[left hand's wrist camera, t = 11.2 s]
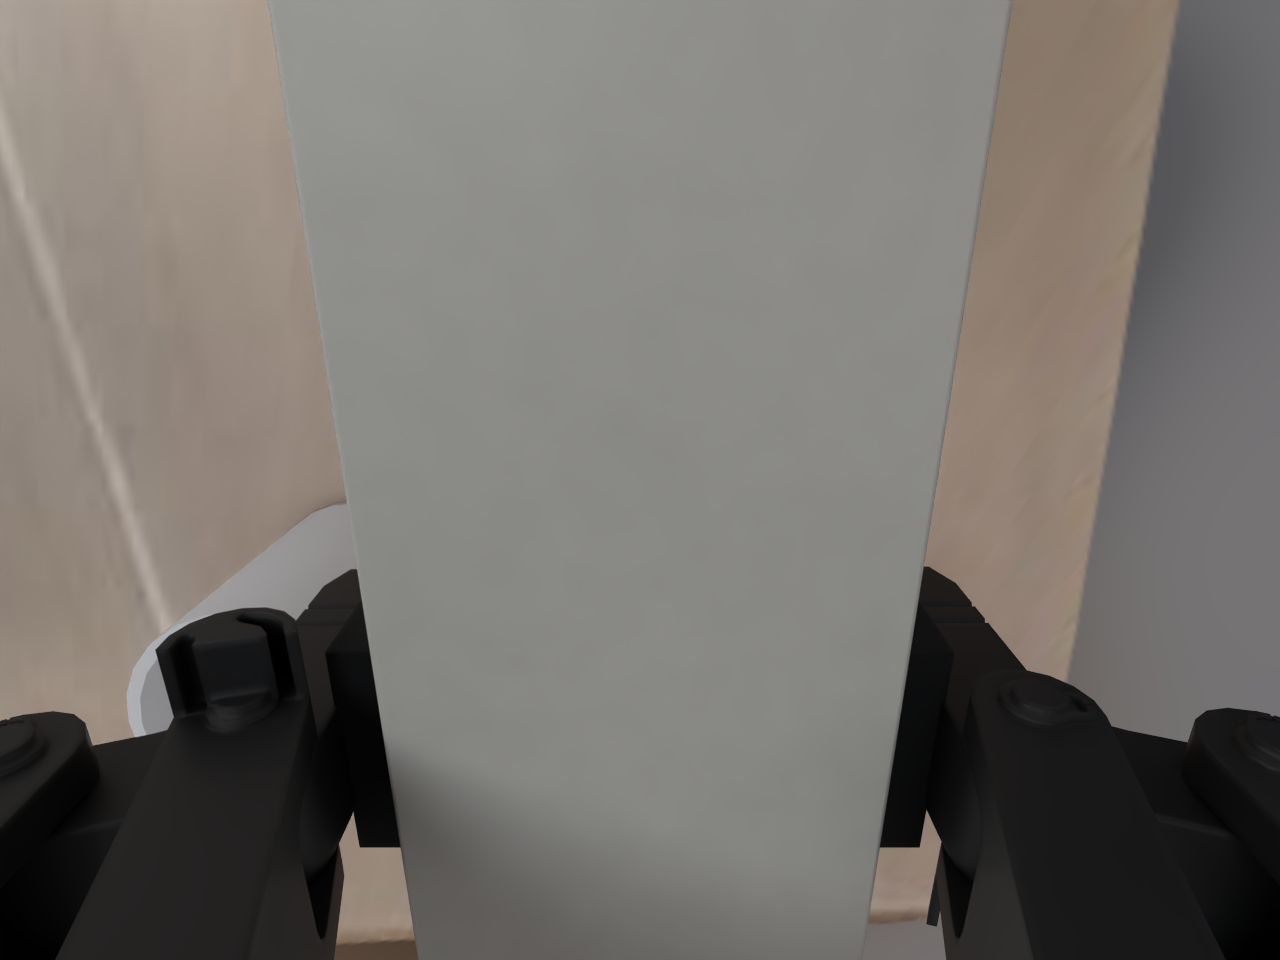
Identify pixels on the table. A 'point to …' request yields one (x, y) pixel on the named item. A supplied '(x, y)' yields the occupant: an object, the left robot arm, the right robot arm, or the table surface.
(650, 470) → the bar
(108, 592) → the table surface
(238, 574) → the mug
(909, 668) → the left robot arm
